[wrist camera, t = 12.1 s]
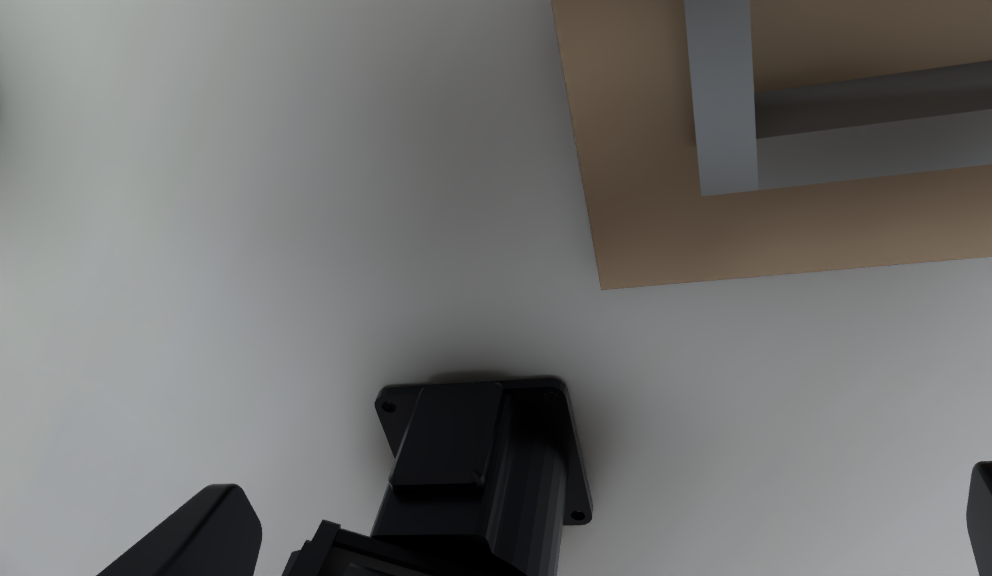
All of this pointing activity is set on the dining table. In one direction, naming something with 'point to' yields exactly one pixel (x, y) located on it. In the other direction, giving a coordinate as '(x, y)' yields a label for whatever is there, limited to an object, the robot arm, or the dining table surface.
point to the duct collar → (779, 134)
